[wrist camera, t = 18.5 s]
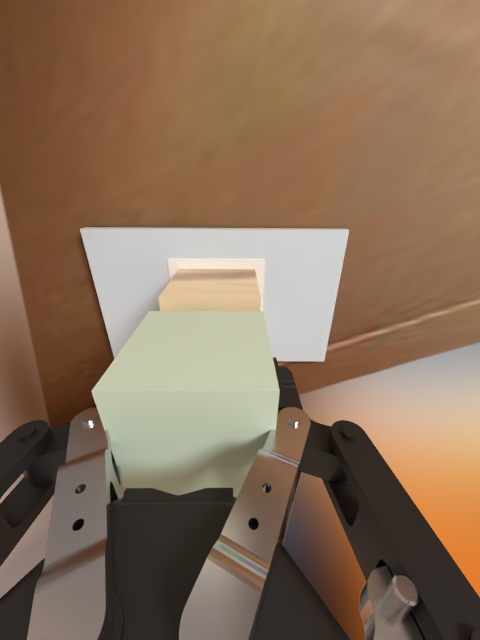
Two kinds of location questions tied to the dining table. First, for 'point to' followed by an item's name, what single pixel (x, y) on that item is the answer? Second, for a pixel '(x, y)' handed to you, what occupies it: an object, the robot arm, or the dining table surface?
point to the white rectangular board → (223, 253)
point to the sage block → (190, 400)
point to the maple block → (211, 291)
